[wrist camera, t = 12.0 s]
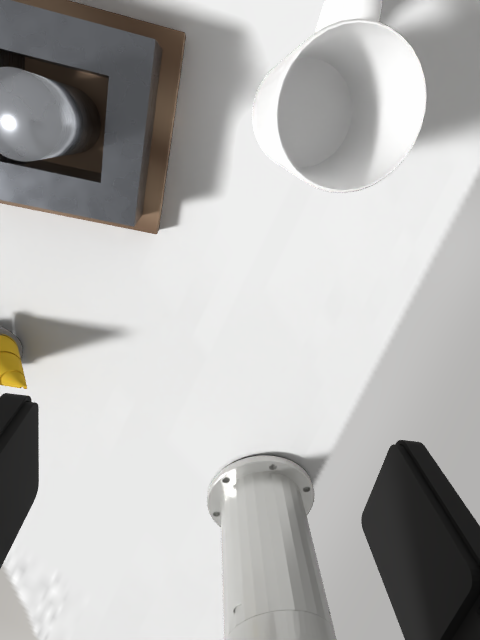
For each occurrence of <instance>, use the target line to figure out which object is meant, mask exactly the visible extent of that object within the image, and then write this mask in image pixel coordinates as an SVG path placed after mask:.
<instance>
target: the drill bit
mask: <svg viewBox="0 0 480 640" xmlns="http://www.w3.org/2000/svg"><path fill="white" fill-rule="evenodd" d="M22 353H23V351H22V345H21V342H20V340H19V339H18V338H17V337H16V336H15V335H14V334H13V333H12V332H10V331H9V330H7V329H5V328H3V327H0V385H4V386H10V387H17V388H21V387H24V389H27V385H26V381H25V376H24V372H23V368H22V363H21V358H22Z"/></svg>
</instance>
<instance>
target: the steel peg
mask: <svg viewBox="0 0 480 640" xmlns="http://www.w3.org/2000/svg"><path fill="white" fill-rule="evenodd" d="M100 130H101V120H100V115H99V112H98V109H97V107H96V105H95V104H94V102H93V101H92V100H91V98H90V97H89V96H88V95H87V94H85V93H84V92H83V91H81V90H79V89H77V88H75V87H72V86H69V85H66V84H63V83H60V82H57V81H54V80H51V79H48V78H46V77H43V76H40V75H37V74H34V73H31V72H28V71H25V70H22V69H19V68H14V67H0V154H2V155H3V156H5V157H8V158H10V159H13V160H17V161H25V162H27V161H36V160H42V159H47V158H53V157H59V156H65V155H71V154H77V153H82V152H85V151H87V150H89V149H90V148H91V147H92V146H93V145H94V144H95V143H96V141H97V140H98V138H99V135H100Z"/></svg>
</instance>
